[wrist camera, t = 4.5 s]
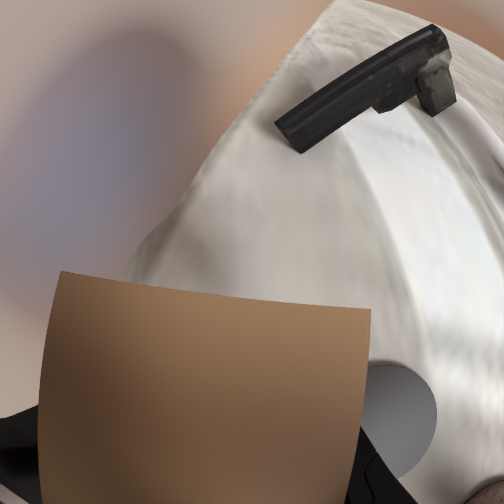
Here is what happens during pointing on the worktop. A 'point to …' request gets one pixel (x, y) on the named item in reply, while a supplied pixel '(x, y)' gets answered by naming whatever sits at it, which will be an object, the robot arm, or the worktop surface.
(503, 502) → the sculpture
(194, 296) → the stool
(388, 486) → the robot arm
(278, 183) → the worktop surface
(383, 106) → the handgun
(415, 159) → the worktop surface
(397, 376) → the mat
